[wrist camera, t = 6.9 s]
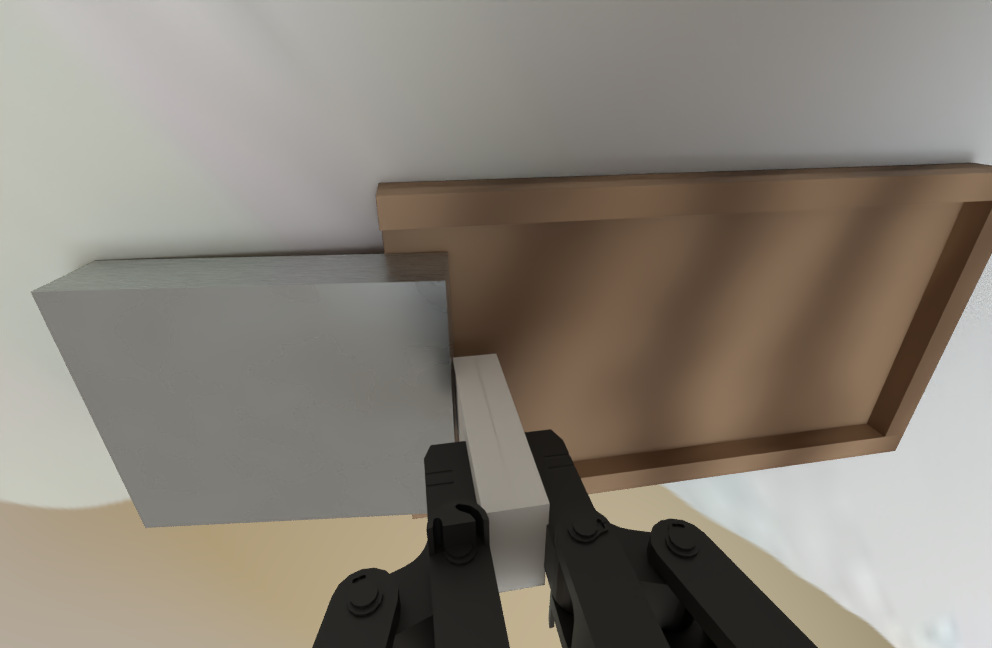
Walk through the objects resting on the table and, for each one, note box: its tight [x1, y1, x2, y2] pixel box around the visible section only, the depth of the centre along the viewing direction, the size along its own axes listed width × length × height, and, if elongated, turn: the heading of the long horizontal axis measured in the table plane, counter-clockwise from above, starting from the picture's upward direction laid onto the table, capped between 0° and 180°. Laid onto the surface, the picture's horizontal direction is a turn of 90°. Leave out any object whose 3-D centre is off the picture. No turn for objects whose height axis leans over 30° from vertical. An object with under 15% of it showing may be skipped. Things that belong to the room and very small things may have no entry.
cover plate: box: [31, 252, 458, 528], centre depth 16 cm, size 11×9×2 cm
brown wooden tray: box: [376, 163, 992, 519], centre depth 19 cm, size 23×13×2 cm, turn 90°
